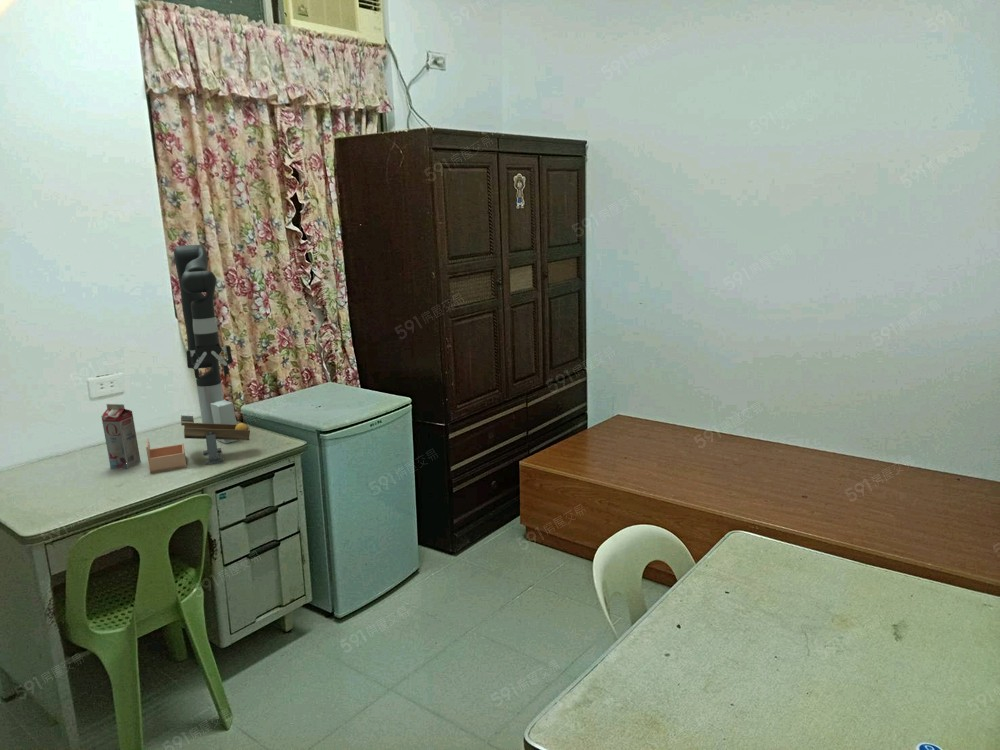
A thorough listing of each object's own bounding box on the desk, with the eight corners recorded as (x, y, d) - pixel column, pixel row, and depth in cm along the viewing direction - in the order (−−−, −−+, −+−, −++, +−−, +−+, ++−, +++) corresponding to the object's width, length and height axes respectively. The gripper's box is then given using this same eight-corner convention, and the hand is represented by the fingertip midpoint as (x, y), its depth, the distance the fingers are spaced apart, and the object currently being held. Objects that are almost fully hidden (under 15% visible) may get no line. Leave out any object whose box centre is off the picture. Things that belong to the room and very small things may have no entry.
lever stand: (203, 452, 253) (199, 426, 250) (221, 450, 255) (217, 423, 253) (205, 465, 240) (201, 437, 238) (223, 461, 243) (220, 434, 240)
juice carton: (127, 468, 240) (116, 407, 234) (110, 468, 241) (99, 406, 236) (140, 461, 246) (130, 401, 241) (124, 461, 247) (113, 401, 242)
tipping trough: (180, 424, 254) (181, 414, 253) (244, 427, 263) (245, 417, 263) (181, 438, 238) (182, 427, 237) (249, 440, 247) (250, 430, 247)
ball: (234, 433, 251) (234, 422, 250) (246, 432, 253) (246, 421, 252) (235, 436, 248) (235, 425, 247) (247, 435, 249) (247, 424, 248)
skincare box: (239, 440, 265) (234, 402, 262) (224, 444, 261) (218, 406, 257) (230, 435, 271) (225, 398, 267) (214, 439, 267) (209, 402, 263)
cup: (150, 462, 244) (146, 438, 242) (185, 457, 249) (182, 433, 247) (150, 473, 235) (146, 447, 232) (186, 467, 239) (182, 442, 237)
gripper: (227, 327, 242) (233, 372, 246) (182, 331, 236) (189, 378, 240) (229, 330, 235) (235, 377, 239) (183, 335, 229) (190, 382, 233)
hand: (212, 377), depth 239 cm, fingers open, 8 cm apart
